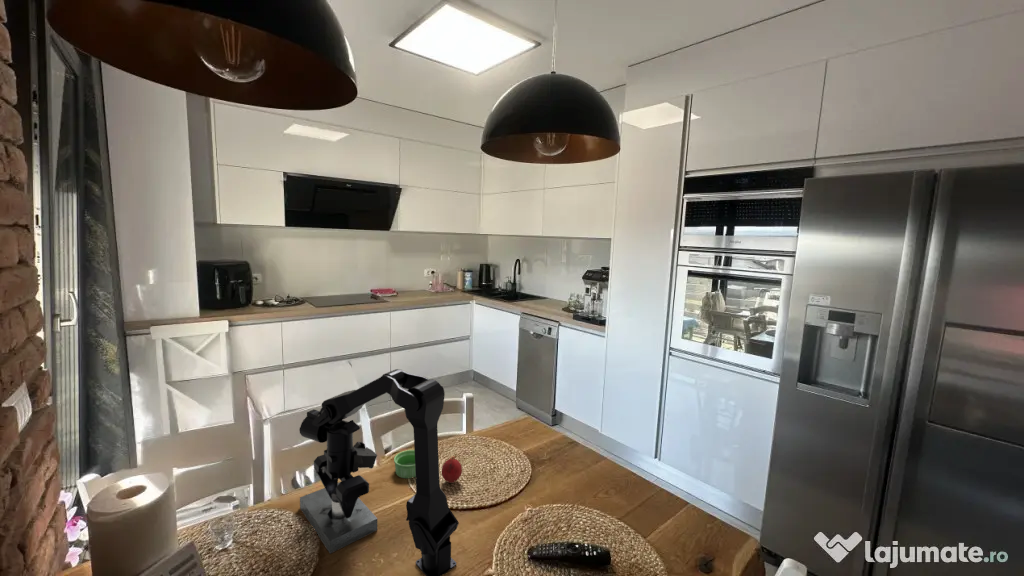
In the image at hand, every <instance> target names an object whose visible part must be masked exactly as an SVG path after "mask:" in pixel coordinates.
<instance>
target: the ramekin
mask: <svg viewBox="0 0 1024 576" xmlns="http://www.w3.org/2000/svg"><path fill="white" fill-rule="evenodd" d="M393 462H394V469H395V474H396V476H397V477H399V478H402V479H413V478H416V474H415V451H414V449H407V450H403V451H401V452H398V453H397V454H396V455H395V456H394V458H393ZM412 477H413V478H412Z"/></svg>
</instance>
